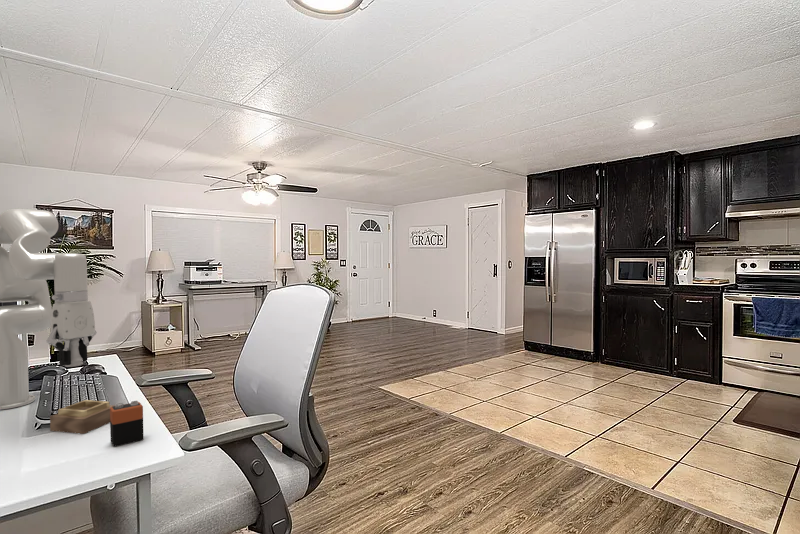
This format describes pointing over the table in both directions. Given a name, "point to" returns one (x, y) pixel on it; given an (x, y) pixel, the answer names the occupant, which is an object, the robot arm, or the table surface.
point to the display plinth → (81, 417)
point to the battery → (126, 423)
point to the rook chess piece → (74, 353)
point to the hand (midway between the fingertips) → (73, 361)
